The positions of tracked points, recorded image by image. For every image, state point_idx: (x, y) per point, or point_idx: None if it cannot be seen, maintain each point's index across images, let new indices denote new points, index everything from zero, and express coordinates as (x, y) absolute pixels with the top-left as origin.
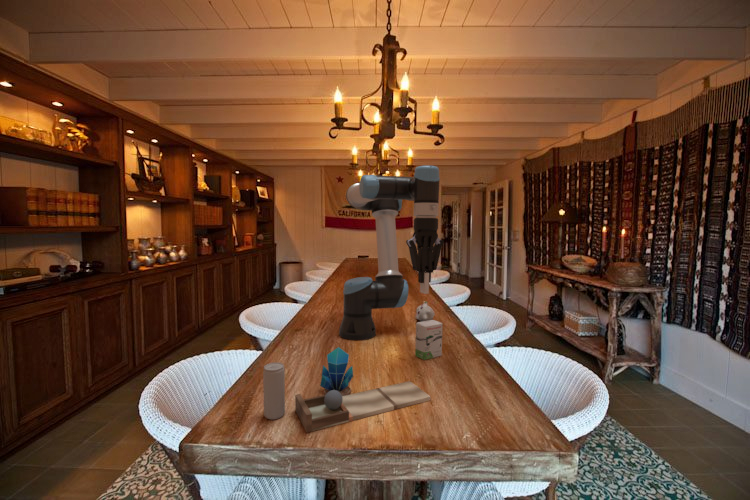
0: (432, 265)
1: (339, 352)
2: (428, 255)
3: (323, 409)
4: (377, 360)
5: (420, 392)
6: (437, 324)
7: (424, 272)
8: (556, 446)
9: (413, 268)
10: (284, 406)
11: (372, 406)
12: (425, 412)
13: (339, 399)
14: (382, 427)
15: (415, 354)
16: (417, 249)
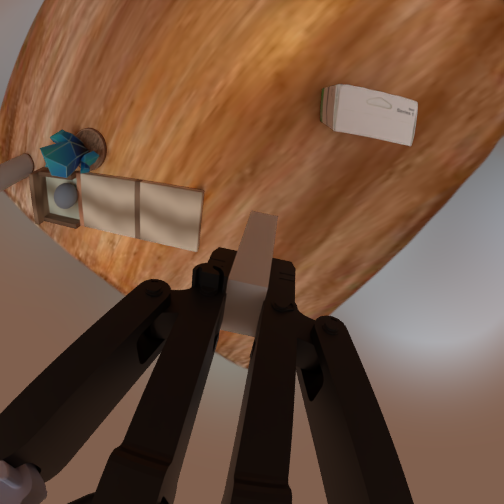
0: (337, 350)
1: (49, 164)
2: (234, 448)
3: None
4: (220, 56)
5: (190, 234)
6: (389, 141)
7: (239, 310)
8: (248, 366)
9: (138, 294)
10: (27, 173)
11: (110, 222)
12: (171, 264)
13: (67, 208)
14: (111, 253)
15: (322, 90)
16: (115, 450)
